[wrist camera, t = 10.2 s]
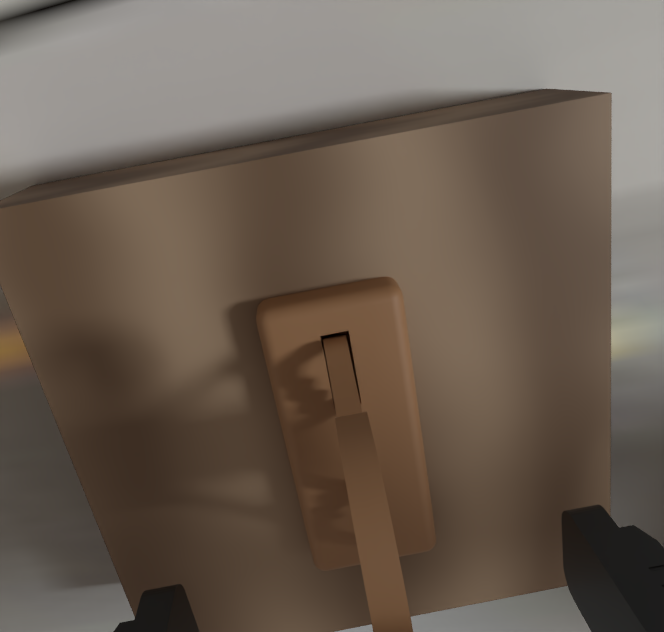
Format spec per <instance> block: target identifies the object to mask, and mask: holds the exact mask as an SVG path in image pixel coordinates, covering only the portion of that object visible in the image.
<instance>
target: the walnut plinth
mask: <svg viewBox="0 0 664 632" xmlns="http://www.w3.org/2000/svg"><path fill="white" fill-rule="evenodd" d="M385 276H386V277H391V278H393V279H394V280H395V281H396V282H397V284H398V285H399V287H400V289H401V291H402V294H403V299H404V307H405V314H406V321H407V329H408V336H409V343H410V350H411V358H412V365H413V372H414V380H415V387H416V394H417V402H418V409H419V416H420V424H421V431H422V438H423V446H424V453H425V460H426V468H427V475H428V482H429V490H430V497H431V504H432V512H433V519H434V526H435V534H436V543H435V546H434V547H433V548H432V549H431V550H429V551H426V552H421V553H416V554H411V555H406V556H401V557H399V560H400V565H401V570H402V575H403V580H404V586H405V591H406V596H407V601H408V607H409V612H410V617H411V616H416V615H421V614H426V613H431V612H436V611H441V610H446V609H451V608H456V607H462V606H467V605H472V604H477V603H482V602H487V601H492V600H497V599H502V598H507V597H512V596H518V595H523V594H528V593H533V592H538V591H543V590H548V589H553V588H558V587H563V586H568V585H567V581H566V578H565V574H564V568H563V546H562V520H561V517H562V512H563V511H566V510H572V509H577V508H582V507H587V506H592V505H597V504H599V505H601V506H602V507H603V508H604V509H605V510H606V511H607V513H608V514H609V515H610V480H611V93H606V92H590V91H574V90H558V89H542V90H537V91H531V92H526V93H521V94H516V95H510V96H505V97H500V98H494V99H489V100H484V101H478V102H473V103H468V104H463V105H457V106H452V107H447V108H441V109H436V110H431V111H425V112H420V113H415V114H410V115H404V116H399V117H394V118H388V119H383V120H378V121H372V122H367V123H362V124H357V125H351V126H346V127H341V128H335V129H330V130H325V131H319V132H314V133H309V134H304V135H298V136H293V137H288V138H282V139H277V140H272V141H266V142H261V143H256V144H251V145H245V146H240V147H235V148H229V149H224V150H219V151H213V152H208V153H203V154H198V155H192V156H187V157H182V158H176V159H171V160H166V161H160V162H155V163H150V164H145V165H139V166H134V167H129V168H123V169H118V170H113V171H107V172H102V173H97V174H92V175H86V176H81V177H76V178H70V179H65V180H60V181H54V182H49V183H44V184H39V185H33V186H31V187H29V188H27V189H24V190H22V191H20V192H18V193H16V194H13V195H11V196H9V197H7V198H5V199H3V200H0V285H1V287H2V290H3V292H4V295H5V297H6V300H7V302H8V305H9V307H10V310H11V312H12V315H13V317H14V319H15V322H16V324H17V327H18V329H19V332H20V334H21V337H22V339H23V342H24V344H25V347H26V349H27V352H28V354H29V356H30V359H31V361H32V364H33V366H34V369H35V371H36V374H37V376H38V379H39V381H40V384H41V386H42V389H43V391H44V394H45V396H46V398H47V401H48V403H49V406H50V408H51V411H52V413H53V416H54V418H55V421H56V423H57V426H58V428H59V431H60V433H61V435H62V438H63V440H64V443H65V445H66V448H67V450H68V453H69V455H70V458H71V460H72V463H73V465H74V468H75V470H76V473H77V475H78V477H79V480H80V482H81V485H82V487H83V490H84V492H85V495H86V497H87V500H88V502H89V505H90V507H91V510H92V512H93V514H94V517H95V519H96V522H97V524H98V527H99V529H100V532H101V534H102V537H103V539H104V542H105V544H106V547H107V549H108V552H109V554H110V556H111V559H112V561H113V564H114V566H115V569H116V571H117V574H118V576H119V579H120V581H121V584H122V586H123V589H124V591H125V593H126V596H127V598H128V601H129V603H130V606H131V608H132V611H133V613H134V616H136V613H137V609H138V605H139V602H140V598H141V595H142V593H143V592H144V591H145V590H150V589H155V588H160V587H166V586H171V585H176V584H181V585H182V586H183V587H184V589H185V592H186V595H187V598H188V600H189V603H190V606H191V609H192V612H193V614H194V617H195V620H196V623H197V626H198V629H199V631H200V632H334V631H339V630H344V629H349V628H355V627H360V626H365V625H370V624H372V622H371V616H370V611H369V606H368V601H367V596H366V590H365V585H364V580H363V575H362V569H361V564H360V565H354V566H349V567H344V568H339V569H334V570H329V571H322V570H320V569H318V568H317V567H316V566H315V564H314V561H313V557H312V553H311V549H310V545H309V541H308V536H307V532H306V528H305V524H304V520H303V515H302V511H301V507H300V503H299V499H298V495H297V490H296V486H295V482H294V478H293V474H292V470H291V465H290V461H289V457H288V453H287V449H286V444H285V440H284V436H283V432H282V428H281V424H280V419H279V415H278V411H277V407H276V403H275V399H274V394H273V390H272V386H271V382H270V378H269V373H268V369H267V365H266V361H265V357H264V353H263V348H262V344H261V340H260V336H259V332H258V328H257V323H256V314H257V307H258V305H259V304H260V303H261V302H262V301H263V300H265V299H268V298H273V297H279V296H284V295H289V294H294V293H300V292H305V291H310V290H315V289H321V288H326V287H331V286H336V285H342V284H347V283H352V282H357V281H363V280H368V279H373V278H378V277H385Z"/></svg>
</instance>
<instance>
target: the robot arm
mask: <svg viewBox="0 0 664 632" xmlns="http://www.w3.org/2000/svg"><path fill="white" fill-rule="evenodd" d="M561 520H562V546H563V568H564V574H565V578H566V581H567V585H568V587H569V590H570V593H571V595H572V597H573V599H574V601H575V603H576V605H577V606H578V608H579V610H580V612H581V614H582V615H583V617H584V619H585V621H586V623H587V624H588V626H589V628H590V630H591V632H664V548H663V547H662V546H661V544H660V543H659V542H658V541H657V540H655V539H654V538H652V537H651V536H649V535H648V534H646V533H645V532H643V531H642V530H640V529H639V528H637V527H636V526H634V525H632V526H627V527H622V528H619V527H618V526H617V525H616V523H615V522H614V521H613V519H612V518H611V517H610V515H609V514H608V513H607V511H606V510H605V509H604V508H603V507H602V506H601V505H599V504H597V505H592V506H587V507H582V508H577V509H572V510H566V511H563V512H562V517H561ZM114 632H200V631H199V629H198V626H197V623H196V620H195V617H194V614H193V612H192V609H191V606H190V603H189V600H188V598H187V595H186V592H185V589H184V587H183V586H182V585H181V584H176V585H171V586H166V587H160V588H155V589H150V590H145V591H144V592H143V593H142V595H141V598H140V602H139V605H138V609H137V613H136V616H135V620H133V621H128V622H122V623H119V625H118V626H117V628H116V629H115V631H114Z"/></svg>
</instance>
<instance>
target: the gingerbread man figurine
mask: <svg viewBox="0 0 664 632" xmlns="http://www.w3.org/2000/svg"><path fill="white" fill-rule="evenodd" d="M256 323H257V328H258V332H259V336H260V340H261V344H262V348H263V353H264V357H265V361H266V365H267V369H268V373H269V378H270V382H271V386H272V390H273V394H274V399H275V403H276V407H277V411H278V415H279V419H280V424H281V428H282V432H283V436H284V440H285V444H286V449H287V453H288V457H289V461H290V465H291V470H292V474H293V478H294V482H295V486H296V490H297V495H298V499H299V503H300V507H301V511H302V515H303V520H304V524H305V528H306V532H307V536H308V541H309V545H310V549H311V553H312V557H313V561H314V564H315V566H316V567H317V568H318V569H320V570H322V571H329V570H334V569H339V568H344V567H349V566H354V565H360V564H361V569H362V575H363V580H364V585H365V590H366V596H367V601H368V606H369V611H370V616H371V622H372V627H373V632H413V629H412V623H411V618H410V612H409V607H408V601H407V596H406V591H405V586H404V580H403V575H402V570H401V565H400V560H399V557H401V556H406V555H411V554H416V553H421V552H426V551H429V550H431V549H432V548H433V547H434V546H435V543H436V534H435V526H434V519H433V512H432V504H431V497H430V490H429V482H428V475H427V468H426V460H425V453H424V446H423V438H422V431H421V424H420V416H419V409H418V402H417V394H416V387H415V380H414V372H413V365H412V358H411V350H410V343H409V336H408V329H407V321H406V314H405V307H404V299H403V294H402V291H401V289H400V287H399V285H398V284H397V282H396V281H395V280H394V279H393V278H391V277H386V276H385V277H378V278H373V279H368V280H363V281H357V282H352V283H347V284H342V285H336V286H331V287H326V288H321V289H315V290H310V291H305V292H300V293H294V294H289V295H284V296H279V297H273V298H268V299H265V300H263V301H262V302H261V303H260V304H259V305H258V307H257V314H256Z"/></svg>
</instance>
